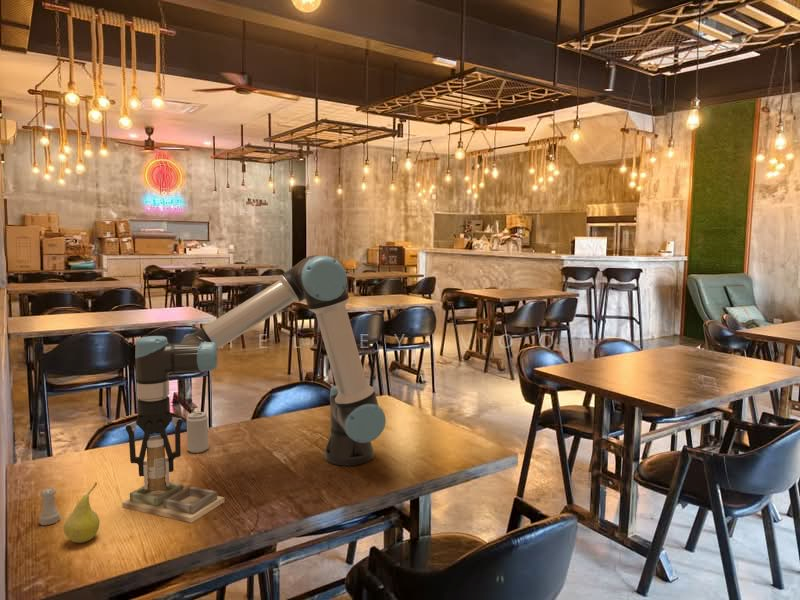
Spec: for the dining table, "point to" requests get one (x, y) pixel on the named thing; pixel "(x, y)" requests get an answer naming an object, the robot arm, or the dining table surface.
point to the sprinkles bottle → (156, 463)
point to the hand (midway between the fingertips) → (157, 485)
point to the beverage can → (197, 432)
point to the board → (174, 502)
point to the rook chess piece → (48, 507)
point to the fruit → (82, 521)
